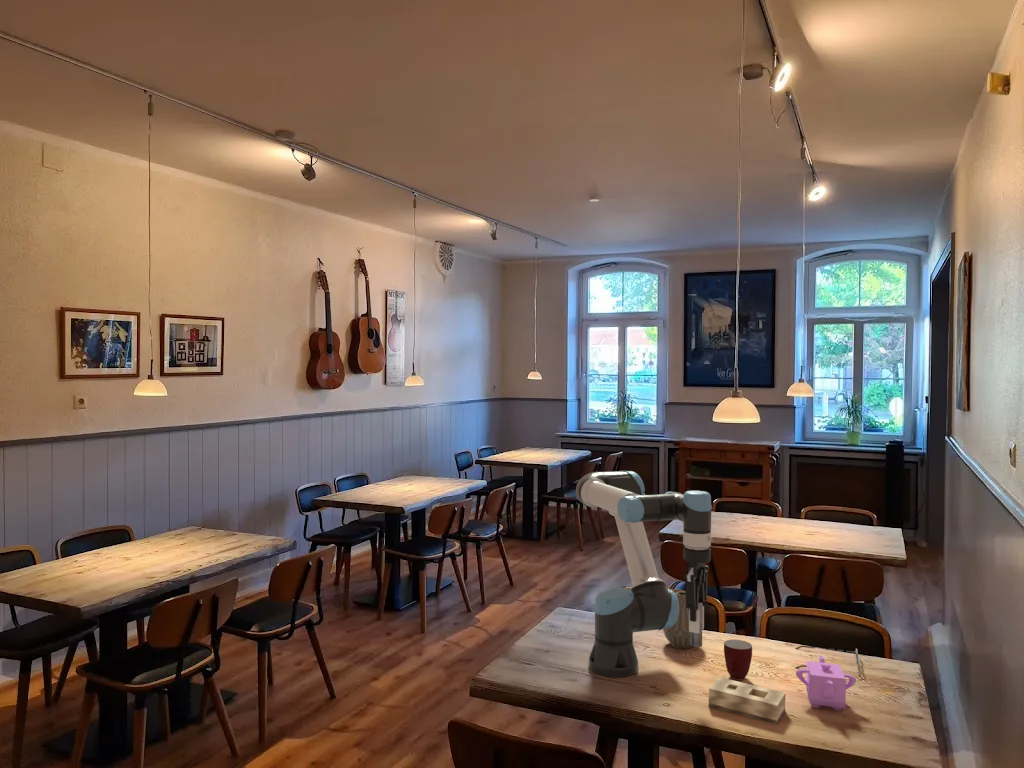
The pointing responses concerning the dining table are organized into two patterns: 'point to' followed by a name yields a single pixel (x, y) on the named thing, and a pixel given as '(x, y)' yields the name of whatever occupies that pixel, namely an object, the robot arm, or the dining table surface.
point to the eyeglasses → (839, 650)
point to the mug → (737, 658)
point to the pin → (697, 637)
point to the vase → (680, 625)
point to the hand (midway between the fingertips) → (696, 630)
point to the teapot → (826, 684)
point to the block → (747, 700)
